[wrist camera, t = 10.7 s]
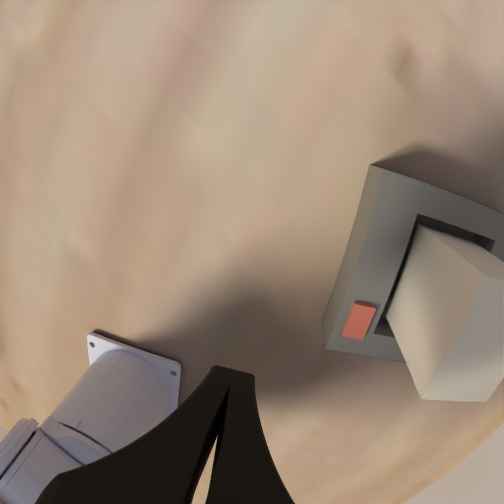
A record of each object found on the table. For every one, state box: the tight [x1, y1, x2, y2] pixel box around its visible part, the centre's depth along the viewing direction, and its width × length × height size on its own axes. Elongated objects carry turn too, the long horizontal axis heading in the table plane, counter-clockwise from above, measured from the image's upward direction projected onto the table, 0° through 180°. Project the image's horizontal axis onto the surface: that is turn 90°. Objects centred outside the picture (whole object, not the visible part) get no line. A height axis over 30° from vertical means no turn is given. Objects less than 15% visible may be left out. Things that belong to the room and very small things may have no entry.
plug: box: [385, 224, 504, 402], centre depth 13 cm, size 4×6×8 cm
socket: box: [322, 165, 504, 363], centre depth 17 cm, size 10×10×3 cm
